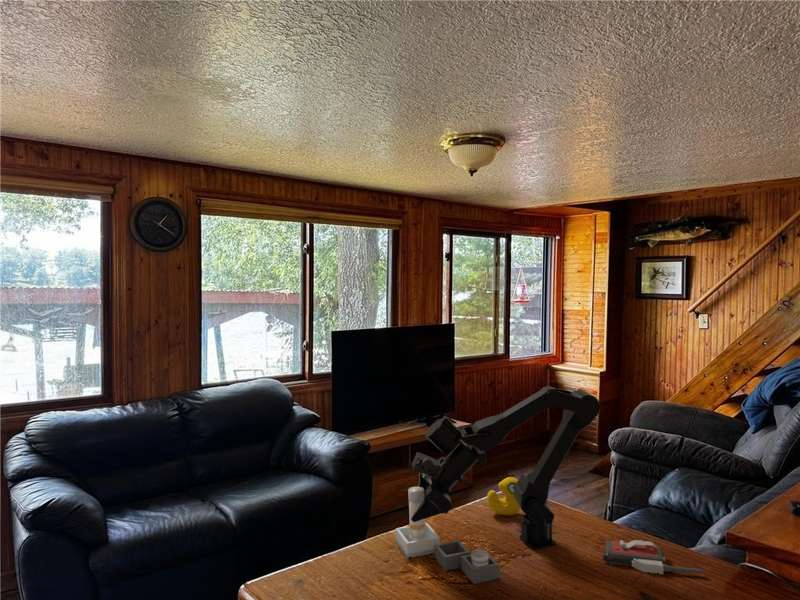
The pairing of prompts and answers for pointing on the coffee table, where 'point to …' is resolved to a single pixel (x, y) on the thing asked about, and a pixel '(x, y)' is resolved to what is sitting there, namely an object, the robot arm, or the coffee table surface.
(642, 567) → the toy chainsaw
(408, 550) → the tray
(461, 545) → the grey square frame
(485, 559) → the white dome piece
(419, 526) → the white bulb-shaped piece
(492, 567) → the grey boxy piece
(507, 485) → the duckling
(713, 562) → the coffee table surface
